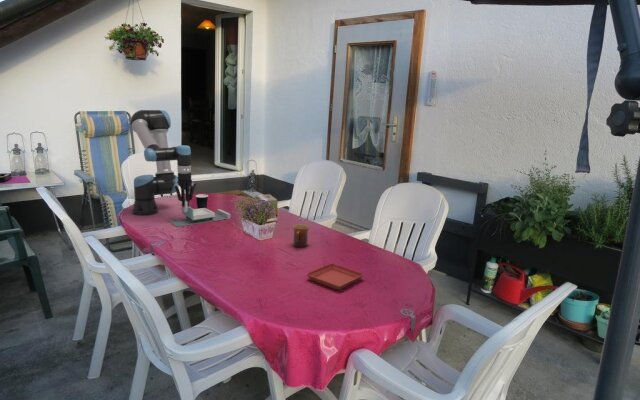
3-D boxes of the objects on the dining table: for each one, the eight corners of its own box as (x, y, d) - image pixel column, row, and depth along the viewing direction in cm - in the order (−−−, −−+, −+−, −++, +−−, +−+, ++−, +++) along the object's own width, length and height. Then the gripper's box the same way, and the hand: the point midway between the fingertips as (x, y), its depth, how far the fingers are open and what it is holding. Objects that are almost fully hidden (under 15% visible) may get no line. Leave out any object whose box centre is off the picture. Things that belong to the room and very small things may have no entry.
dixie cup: (202, 214, 275) (201, 197, 272) (193, 212, 279) (192, 195, 276) (211, 211, 282) (210, 195, 279) (202, 209, 285) (201, 193, 283)
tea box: (254, 217, 273) (254, 194, 270) (270, 216, 277) (270, 193, 274) (262, 224, 260) (262, 200, 257) (277, 222, 264) (278, 199, 261)
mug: (294, 241, 231) (294, 223, 228) (310, 243, 229) (311, 225, 227) (288, 249, 219) (288, 230, 217) (305, 251, 218) (305, 231, 215)
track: (167, 221, 257) (167, 216, 256) (220, 213, 279) (219, 209, 278) (177, 227, 247) (177, 222, 246) (230, 218, 268) (230, 214, 268)
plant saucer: (331, 269, 197) (331, 262, 197) (364, 280, 186) (364, 273, 186) (305, 281, 184) (305, 273, 183) (339, 294, 173) (339, 286, 172)
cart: (182, 218, 262) (182, 203, 260) (204, 214, 272) (204, 200, 270) (191, 223, 252) (191, 208, 250) (214, 219, 262) (214, 205, 260)
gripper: (175, 174, 243) (177, 214, 249) (197, 172, 251) (198, 211, 257) (170, 172, 249) (172, 211, 254) (192, 170, 257) (193, 209, 262)
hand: (185, 211), depth 256 cm, fingers closed
